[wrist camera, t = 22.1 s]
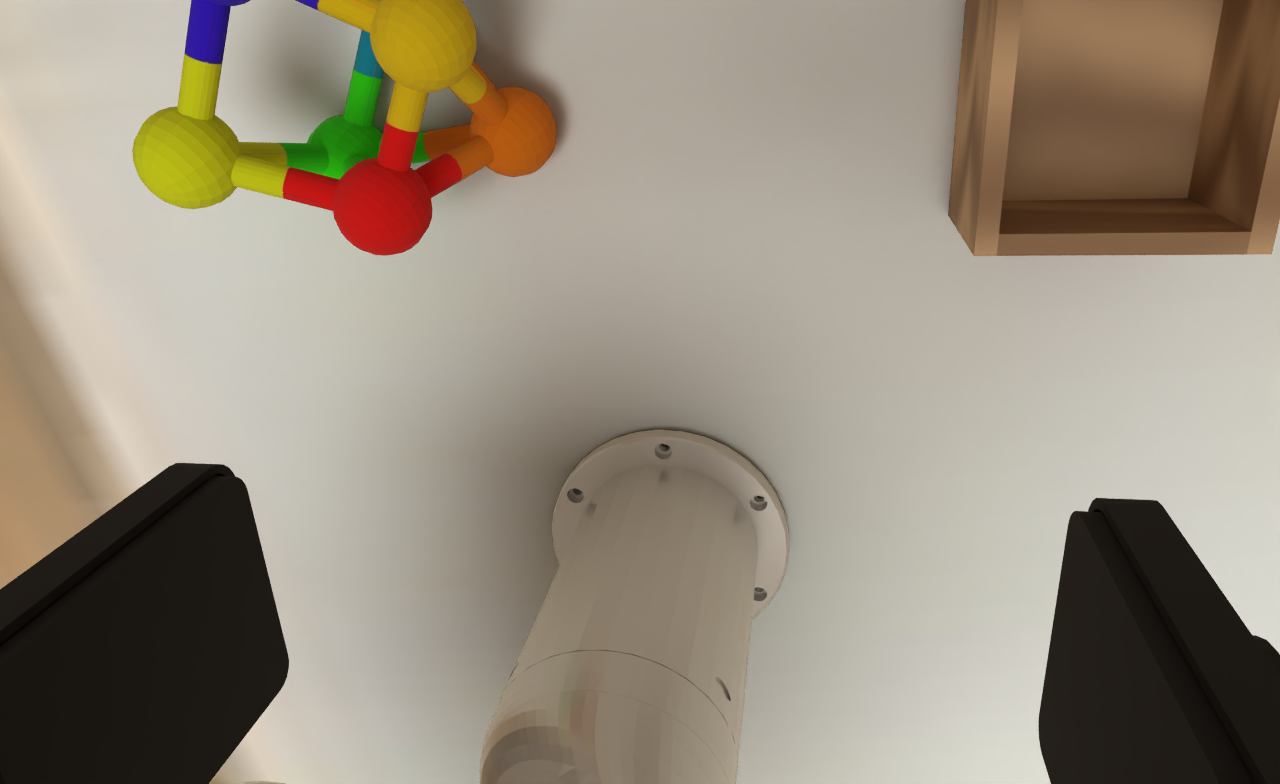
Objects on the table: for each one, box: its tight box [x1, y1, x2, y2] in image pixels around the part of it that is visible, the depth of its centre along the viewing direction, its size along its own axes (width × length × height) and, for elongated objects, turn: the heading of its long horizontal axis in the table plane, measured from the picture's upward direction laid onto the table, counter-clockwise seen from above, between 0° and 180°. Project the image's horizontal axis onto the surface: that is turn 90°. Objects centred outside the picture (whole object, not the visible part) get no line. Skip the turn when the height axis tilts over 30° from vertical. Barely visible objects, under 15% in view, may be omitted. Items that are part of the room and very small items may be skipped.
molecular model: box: [133, 0, 556, 255], centre depth 36 cm, size 15×12×15 cm
